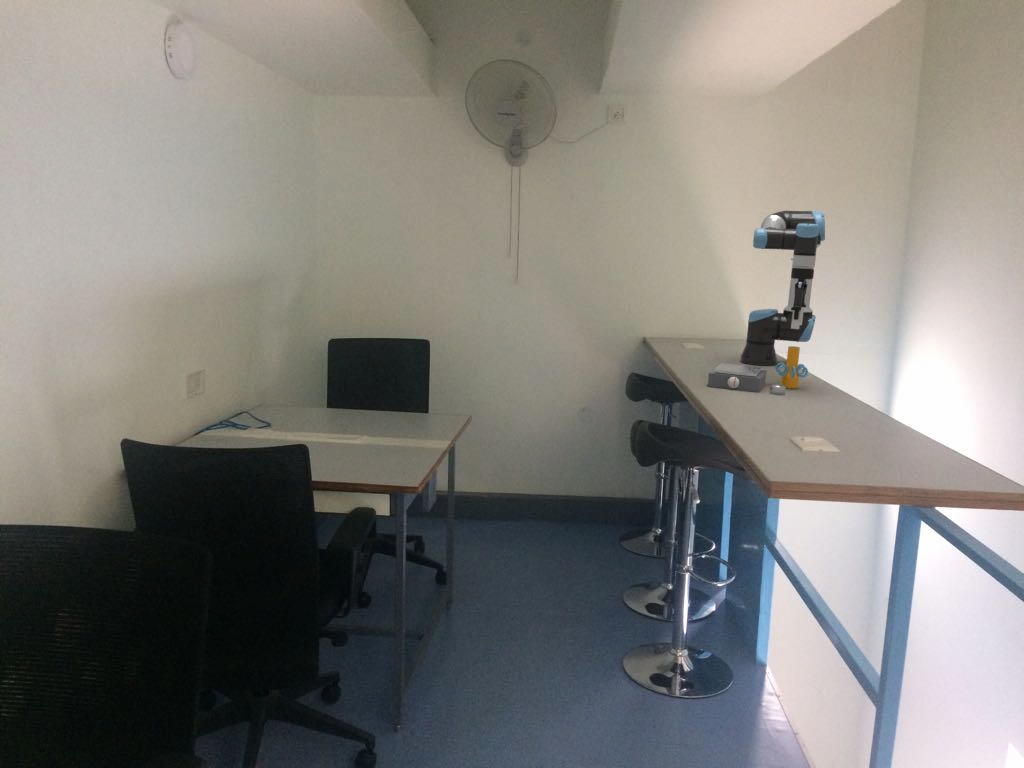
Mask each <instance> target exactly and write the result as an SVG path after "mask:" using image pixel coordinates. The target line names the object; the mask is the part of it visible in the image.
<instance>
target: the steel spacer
mask: <svg viewBox="0 0 1024 768" xmlns="http://www.w3.org/2000/svg"><path fill="white" fill-rule="evenodd" d="M769 387H770V389H769V394H771V395H776V396H785V394H786V389H787V388H786V386H785V385H781V383H772V384H770V386H769Z"/></svg>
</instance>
